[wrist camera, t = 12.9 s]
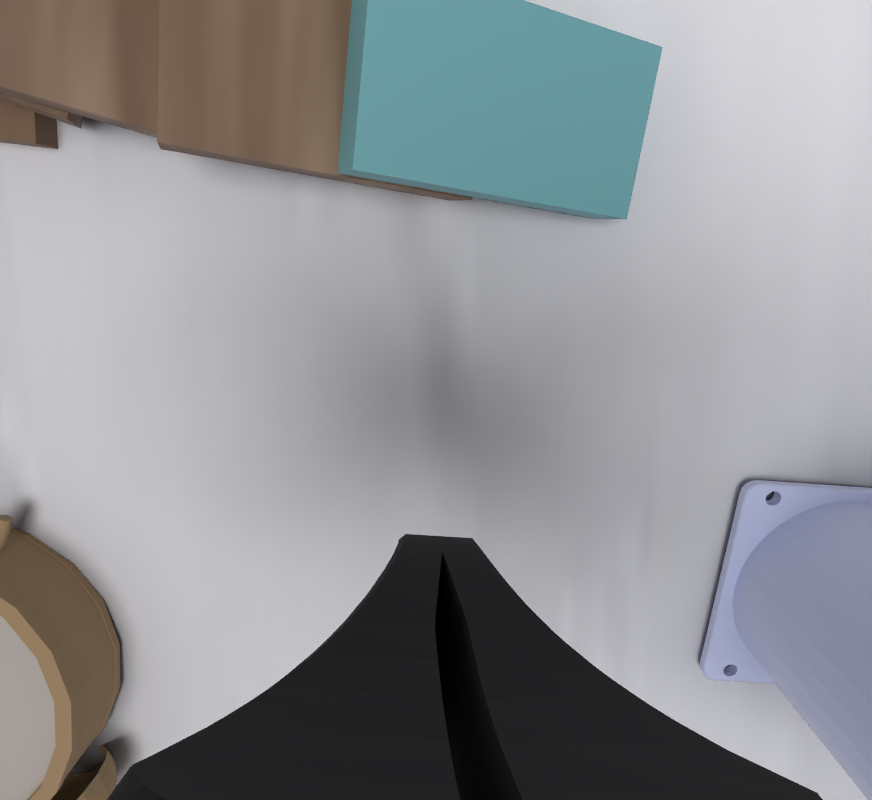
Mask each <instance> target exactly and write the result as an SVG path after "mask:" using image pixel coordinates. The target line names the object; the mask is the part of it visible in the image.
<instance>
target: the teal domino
mask: <svg viewBox="0 0 872 800" xmlns="http://www.w3.org/2000/svg"><path fill="white" fill-rule="evenodd" d="M661 51H662V47H660V46H657V45H654V44H651V43H648V42H646V41H643V40H640V39H637V38H634V37H631V36H628V35H625V34H622V33H619V32H616V31H613V30H610V29H607V28H604V27H601V26H598V25H595V24H592V23H589V22H586V21H583V20H580V19H577V18H574V17H571V16H568V15H565V14H563V13H560V12H557V11H554V10H551V9H548V8H545V7H542V6H539V5H536V4H533V3H530V2H527V1H524V0H352V4H351V16H350V28H349V40H348V52H347V63H346V75H345V87H344V99H343V111H342V123H341V135H340V147H339V159H338V171H337V173H338V174H344V175H350V176H356V177H361V178H367V179H373V180H378V181H384V182H390V183H395V184H401V185H407V186H412V187H418V188H424V189H429V190H435V191H441V192H446V193H452V194H458V195H463V196H469V197H475V198H480V199H486V200H492V201H497V202H503V203H509V204H514V205H520V206H526V207H531V208H537V209H543V210H548V211H554V212H560V213H565V214H571V215H577V216H582V217H588V218H603V219H627V214H628V209H629V205H630V200H631V195H632V190H633V186H634V181H635V176H636V171H637V166H638V162H639V157H640V152H641V147H642V142H643V138H644V133H645V128H646V123H647V118H648V114H649V109H650V104H651V99H652V94H653V90H654V85H655V80H656V75H657V70H658V66H659V61H660V56H661Z"/></svg>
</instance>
